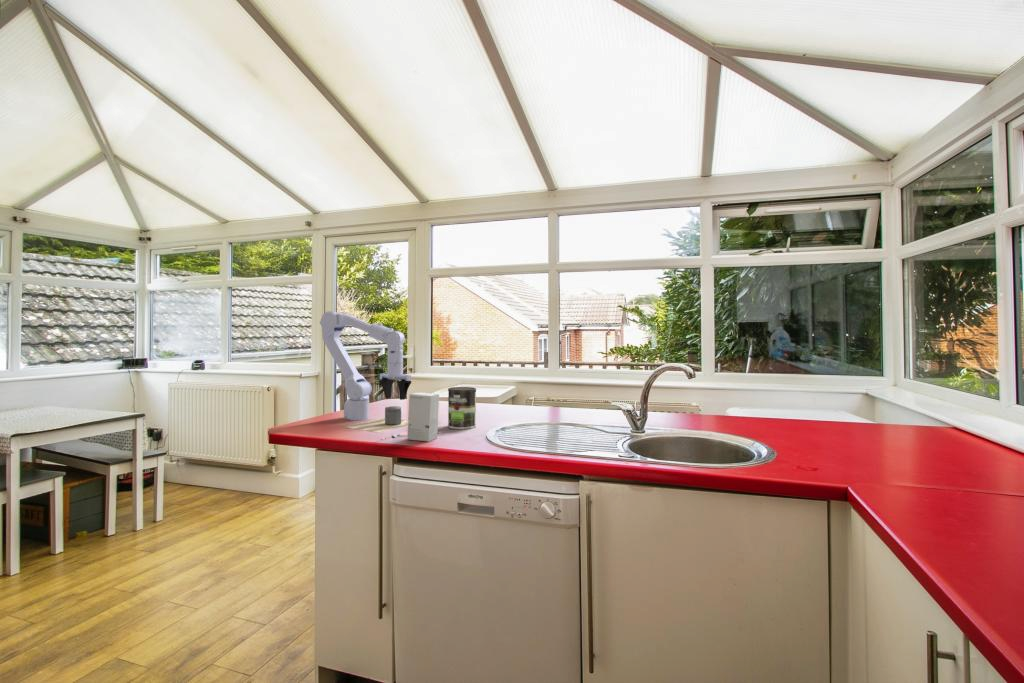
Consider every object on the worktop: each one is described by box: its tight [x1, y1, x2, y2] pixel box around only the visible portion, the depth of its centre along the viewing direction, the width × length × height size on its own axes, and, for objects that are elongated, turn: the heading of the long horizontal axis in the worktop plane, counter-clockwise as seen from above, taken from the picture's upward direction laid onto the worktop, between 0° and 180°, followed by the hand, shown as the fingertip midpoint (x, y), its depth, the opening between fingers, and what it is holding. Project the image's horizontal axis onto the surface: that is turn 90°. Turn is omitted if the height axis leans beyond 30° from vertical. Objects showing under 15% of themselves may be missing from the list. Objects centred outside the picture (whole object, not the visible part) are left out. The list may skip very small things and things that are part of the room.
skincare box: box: [407, 392, 440, 442], centre depth 154 cm, size 8×6×15 cm
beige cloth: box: [341, 417, 408, 433], centre depth 170 cm, size 18×21×2 cm
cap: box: [384, 405, 402, 424], centre depth 171 cm, size 6×6×6 cm
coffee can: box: [447, 386, 477, 430], centre depth 174 cm, size 10×10×14 cm
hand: (395, 398), depth 180 cm, fingers open, 7 cm apart
